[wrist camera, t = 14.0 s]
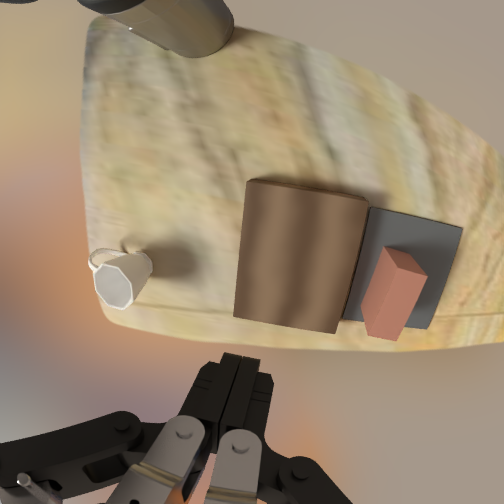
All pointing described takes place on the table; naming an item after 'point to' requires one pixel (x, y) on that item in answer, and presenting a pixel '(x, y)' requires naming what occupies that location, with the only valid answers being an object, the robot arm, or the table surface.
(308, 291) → the platform
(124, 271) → the cup
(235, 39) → the table surface
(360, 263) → the mat
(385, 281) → the block
